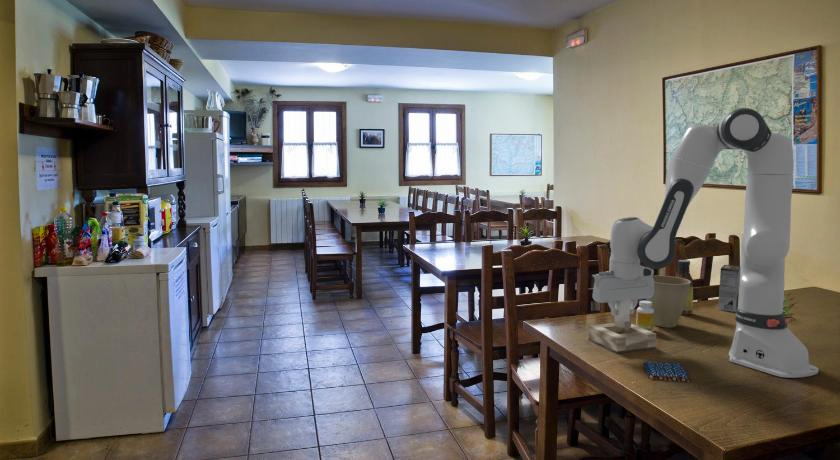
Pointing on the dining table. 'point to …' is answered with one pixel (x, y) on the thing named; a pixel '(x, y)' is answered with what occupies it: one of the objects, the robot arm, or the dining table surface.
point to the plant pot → (668, 299)
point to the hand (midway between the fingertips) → (622, 314)
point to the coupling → (622, 314)
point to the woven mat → (665, 371)
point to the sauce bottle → (685, 274)
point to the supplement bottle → (645, 315)
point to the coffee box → (729, 288)
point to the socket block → (622, 338)
